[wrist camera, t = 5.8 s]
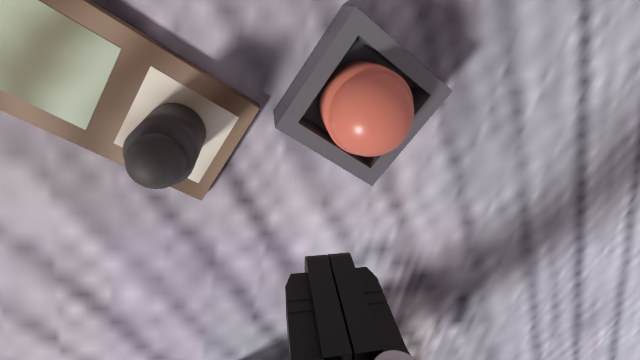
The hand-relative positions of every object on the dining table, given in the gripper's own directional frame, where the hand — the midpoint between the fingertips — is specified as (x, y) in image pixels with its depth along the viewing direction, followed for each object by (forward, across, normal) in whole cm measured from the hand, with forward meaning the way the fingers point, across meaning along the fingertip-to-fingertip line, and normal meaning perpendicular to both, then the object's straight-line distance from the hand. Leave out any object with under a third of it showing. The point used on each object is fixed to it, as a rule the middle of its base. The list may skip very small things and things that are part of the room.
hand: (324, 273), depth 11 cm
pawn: (+18, +9, +1) cm, 20 cm away
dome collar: (+19, -5, -2) cm, 20 cm away
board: (+19, +13, -2) cm, 23 cm away
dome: (+16, -5, -1) cm, 17 cm away
